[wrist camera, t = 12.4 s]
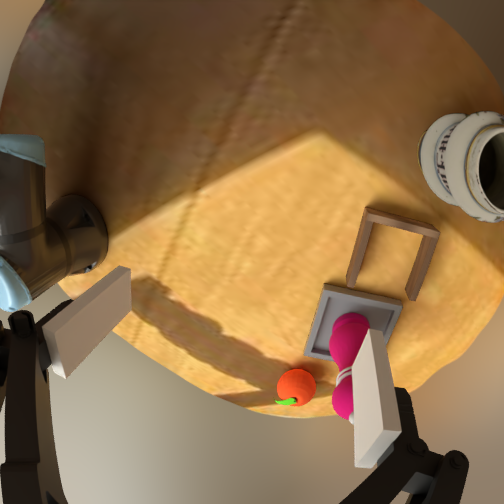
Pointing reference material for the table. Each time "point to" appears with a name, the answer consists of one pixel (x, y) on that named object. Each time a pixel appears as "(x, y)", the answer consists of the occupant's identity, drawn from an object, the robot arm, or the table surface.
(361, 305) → the tray
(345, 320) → the pepper mill
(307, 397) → the clementine
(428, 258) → the cubby
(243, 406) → the table surface
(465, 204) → the apothecary jar
